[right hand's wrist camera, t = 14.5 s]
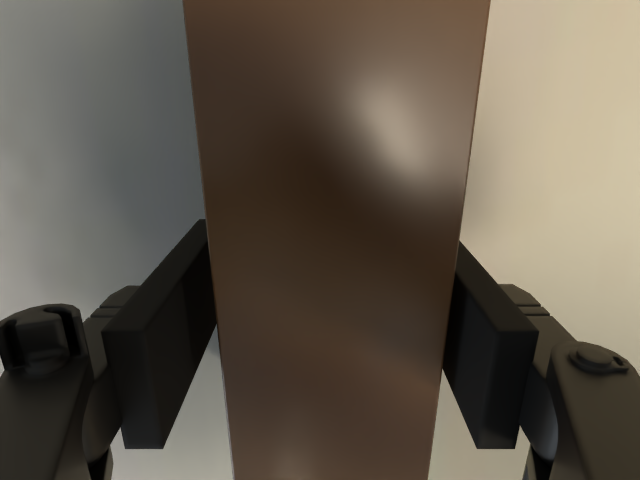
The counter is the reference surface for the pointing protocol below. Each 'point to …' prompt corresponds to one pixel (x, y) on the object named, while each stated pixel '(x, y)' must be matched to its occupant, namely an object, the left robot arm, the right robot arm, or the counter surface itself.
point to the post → (333, 221)
